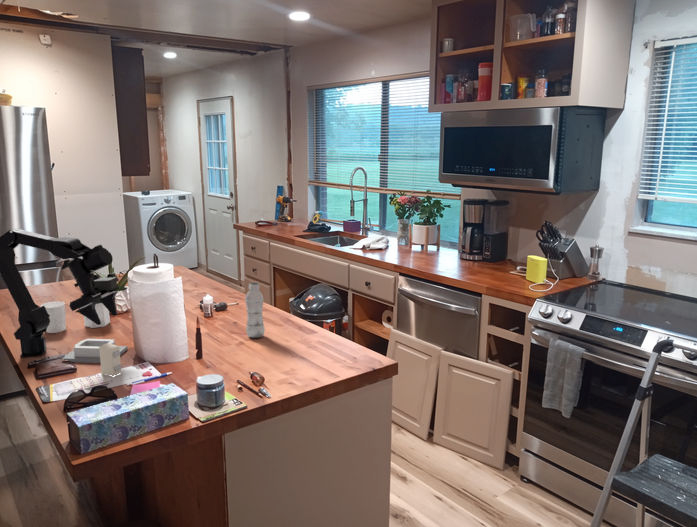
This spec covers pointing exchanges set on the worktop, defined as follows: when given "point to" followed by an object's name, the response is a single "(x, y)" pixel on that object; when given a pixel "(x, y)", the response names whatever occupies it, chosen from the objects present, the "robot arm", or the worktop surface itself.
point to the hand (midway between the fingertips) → (107, 319)
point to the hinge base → (88, 359)
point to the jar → (102, 314)
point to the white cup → (55, 316)
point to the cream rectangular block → (110, 359)
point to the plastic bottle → (254, 311)
